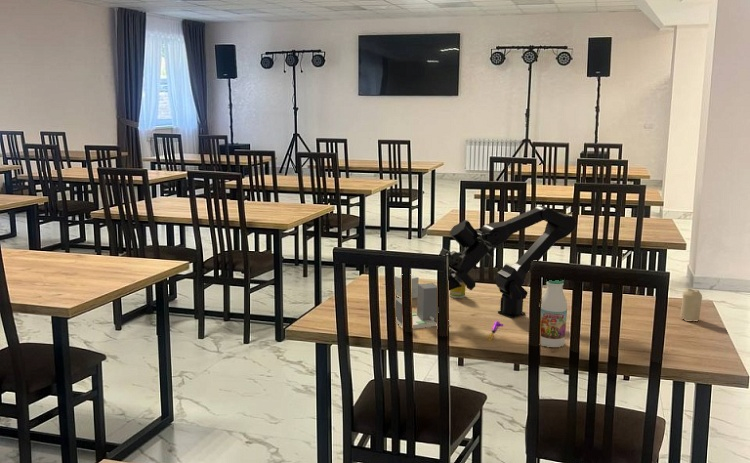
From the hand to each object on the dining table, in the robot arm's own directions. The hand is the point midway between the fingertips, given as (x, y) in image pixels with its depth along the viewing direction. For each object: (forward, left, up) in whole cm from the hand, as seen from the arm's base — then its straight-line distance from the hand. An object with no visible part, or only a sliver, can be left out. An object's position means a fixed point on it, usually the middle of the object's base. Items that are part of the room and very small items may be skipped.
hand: (436, 293), depth 216 cm
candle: (-48, -67, -9) cm, 83 cm away
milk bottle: (-34, -13, -9) cm, 37 cm away
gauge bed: (+2, +5, -9) cm, 10 cm away
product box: (+24, -10, -9) cm, 27 cm away
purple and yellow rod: (-18, -8, -9) cm, 22 cm away
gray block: (+1, +3, -7) cm, 8 cm away
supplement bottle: (+14, -25, -9) cm, 30 cm away
